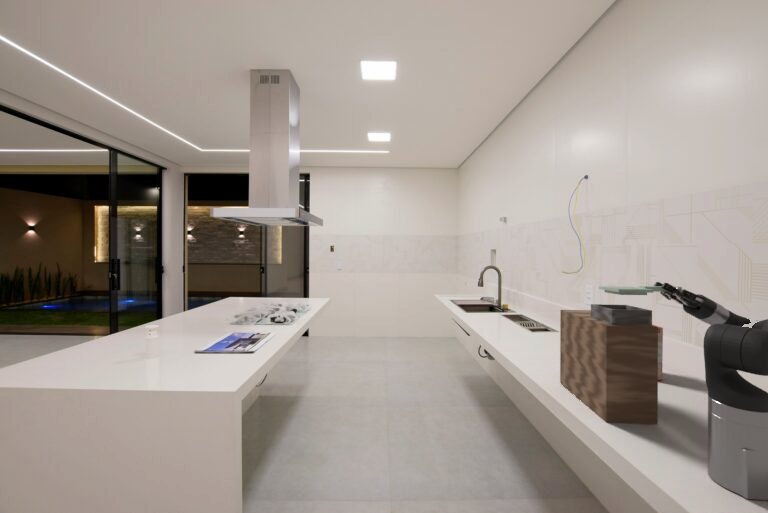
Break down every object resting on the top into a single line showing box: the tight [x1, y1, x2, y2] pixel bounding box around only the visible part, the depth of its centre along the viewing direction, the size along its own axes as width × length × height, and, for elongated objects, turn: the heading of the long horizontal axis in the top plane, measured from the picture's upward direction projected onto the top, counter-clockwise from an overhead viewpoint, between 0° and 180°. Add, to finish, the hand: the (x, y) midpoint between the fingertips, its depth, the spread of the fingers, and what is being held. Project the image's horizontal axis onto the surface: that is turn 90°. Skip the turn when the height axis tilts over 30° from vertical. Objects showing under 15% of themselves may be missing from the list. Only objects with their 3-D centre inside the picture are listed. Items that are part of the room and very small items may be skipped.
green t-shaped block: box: [598, 285, 683, 296], centre depth 111 cm, size 11×23×3 cm, turn 85°
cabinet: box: [559, 303, 659, 426], centre depth 105 cm, size 28×14×32 cm, turn 175°
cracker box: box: [652, 324, 664, 381], centre depth 130 cm, size 14×6×21 cm, turn 168°
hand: (659, 284), depth 110 cm, fingers closed on green t-shaped block, 3 cm apart
